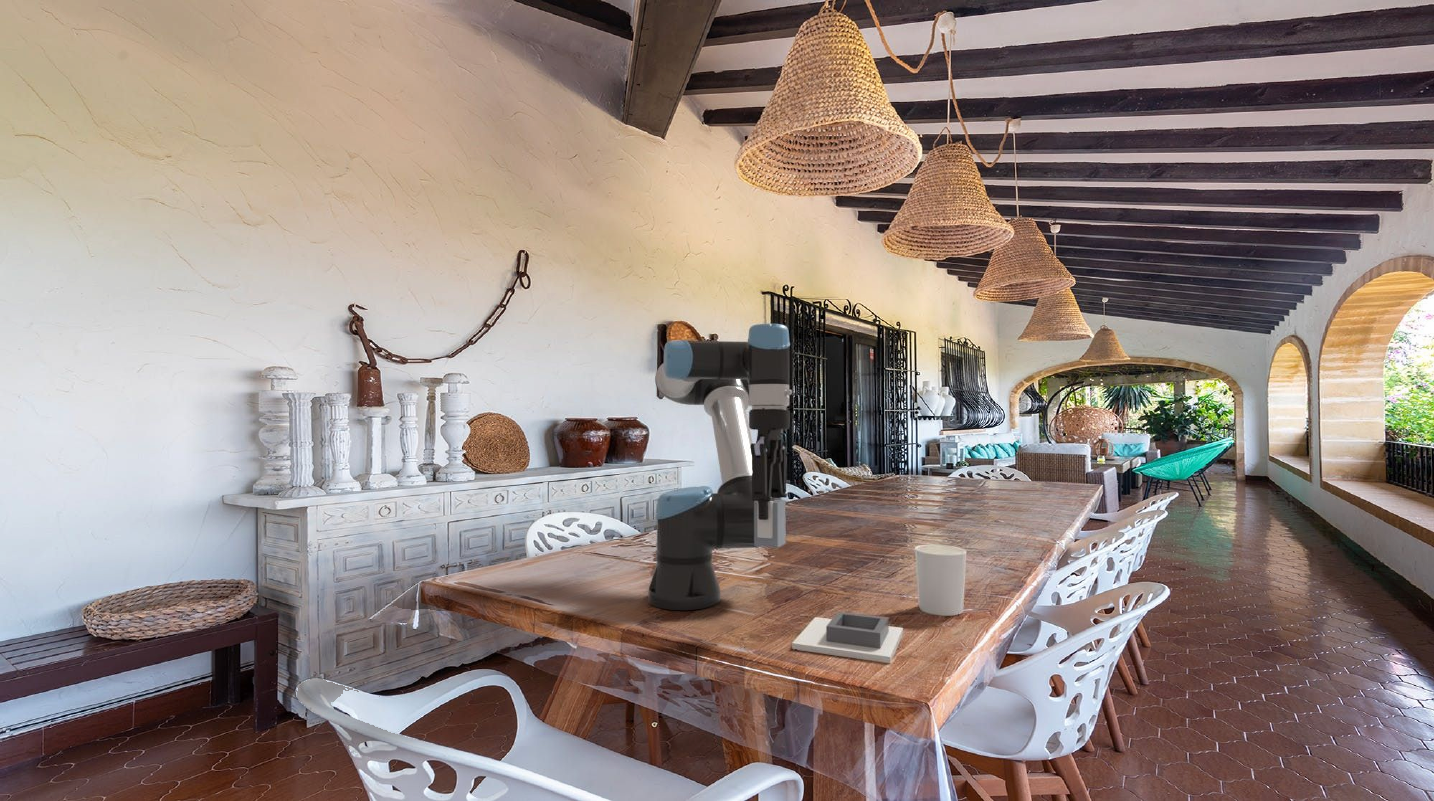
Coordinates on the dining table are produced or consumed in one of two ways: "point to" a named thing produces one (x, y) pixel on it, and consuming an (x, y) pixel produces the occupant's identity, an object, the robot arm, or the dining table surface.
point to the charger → (778, 526)
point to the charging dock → (851, 637)
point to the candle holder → (940, 579)
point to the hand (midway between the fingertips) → (770, 534)
